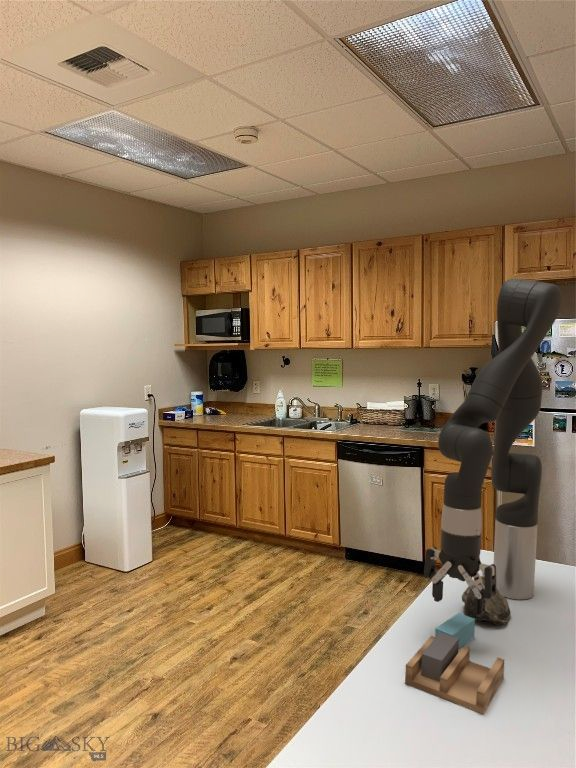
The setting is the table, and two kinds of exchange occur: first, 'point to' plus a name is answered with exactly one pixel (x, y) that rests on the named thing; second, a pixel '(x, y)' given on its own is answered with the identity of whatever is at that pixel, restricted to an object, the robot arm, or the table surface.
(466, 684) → the block
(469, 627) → the tall teal pillar
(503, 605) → the brown rock
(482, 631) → the table surface
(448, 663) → the dark gray block
